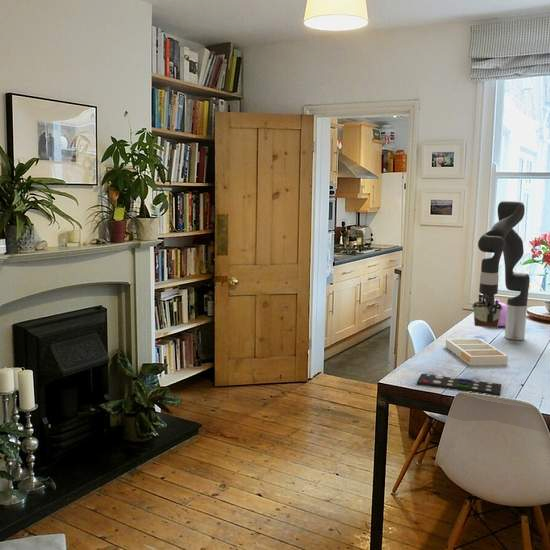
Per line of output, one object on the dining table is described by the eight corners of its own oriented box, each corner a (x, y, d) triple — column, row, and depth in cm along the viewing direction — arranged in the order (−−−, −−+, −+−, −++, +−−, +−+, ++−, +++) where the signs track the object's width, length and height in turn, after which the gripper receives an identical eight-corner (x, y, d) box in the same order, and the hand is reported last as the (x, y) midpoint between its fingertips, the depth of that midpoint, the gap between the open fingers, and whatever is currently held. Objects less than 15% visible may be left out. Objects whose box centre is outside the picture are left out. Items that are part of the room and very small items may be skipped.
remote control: (421, 377, 242) (421, 372, 242) (501, 387, 231) (501, 382, 231) (416, 385, 232) (416, 380, 232) (499, 397, 221) (500, 392, 220)
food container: (501, 325, 261) (503, 302, 260) (501, 328, 256) (502, 305, 254) (471, 322, 266) (473, 300, 264) (471, 325, 260) (472, 303, 258)
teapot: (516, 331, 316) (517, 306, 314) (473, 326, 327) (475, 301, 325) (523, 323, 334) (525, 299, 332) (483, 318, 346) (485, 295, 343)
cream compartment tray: (445, 347, 285) (445, 338, 284) (479, 346, 286) (479, 338, 286) (469, 365, 257) (469, 356, 256) (507, 364, 258) (508, 355, 257)
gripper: (505, 285, 250) (502, 324, 253) (490, 279, 264) (487, 316, 267) (487, 285, 249) (485, 324, 252) (473, 279, 264) (471, 316, 266)
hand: (486, 320), depth 259 cm, fingers closed on food container, 6 cm apart
